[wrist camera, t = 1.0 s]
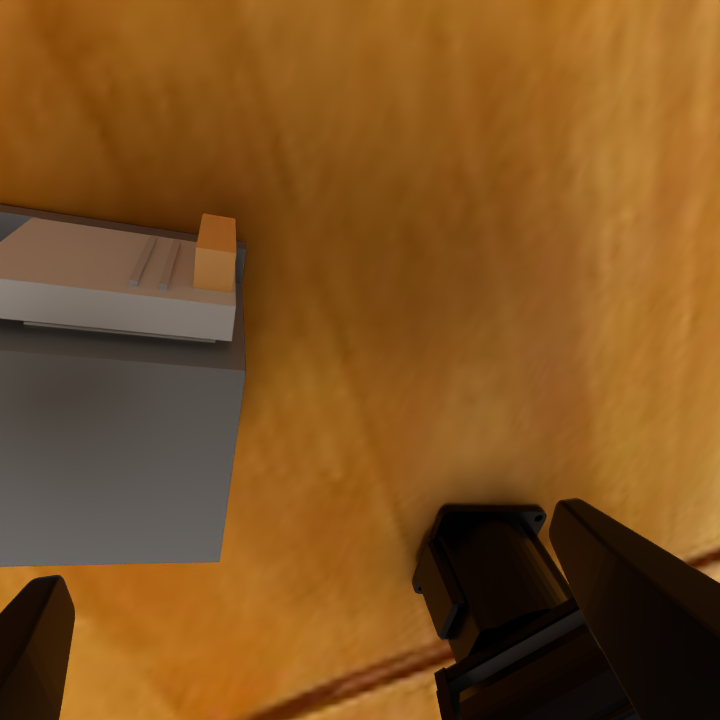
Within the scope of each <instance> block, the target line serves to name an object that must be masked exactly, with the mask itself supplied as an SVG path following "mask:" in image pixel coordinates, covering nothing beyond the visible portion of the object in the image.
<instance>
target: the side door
mask: <svg viewBox="0 0 720 720" xmlns="http://www.w3.org/2000/svg"><path fill="white" fill-rule="evenodd" d="M235 261H236V219H234V218H228V217H222V216H216V215H210V214H204V213H203V215H202V220H201V225H200V230H199V235H198V240H197V242H192V241H186V240H181V239H173V238H166V237H159V236H154V235H146V234H139V233H133V232H126V231H119V230H113V229H106V228H99V227H93V226H86V225H79V224H73V223H66V222H59V221H53V220H46V219H39V218H31V219H30V220H29V221H27V222H26V223H25V224H23V225H22V226H21V227H19V228H18V229H17V230H15V231H14V232H13V233H11V234H10V235H9V236H7V237H6V238H5V239H3V240H2V241H1V242H0V318H2V319H12V320H22V321H32V322H42V323H52V324H62V325H72V326H82V327H92V328H103V329H113V330H123V331H133V332H143V333H153V334H163V335H173V336H183V337H193V338H203V339H214V340H224V341H232V334H233V326H234V318H235V309H236V286H235Z"/></svg>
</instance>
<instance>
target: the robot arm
mask: <svg viewBox="0 0 720 720" xmlns="http://www.w3.org/2000/svg"><path fill="white" fill-rule="evenodd" d="M546 517H547V515H546V513H545V512H544V510H543V509H542V508H541V507H511V506H447V507H444V508H443V509H442V510H441V511H440V512H439V515H438V518H437V520H436V523H435V525H434V528H433V531H432V533H431V536H430V538H429V541H428V542H427V544H426V546H425V549H424V551H423V554H422V557H421V559H420V562H419V564H418V567H417V570H416V575H415V577H414V580H413V583H412V585H413V588H414V591H415V592H416V593H418V594H423V596H424V599H425V601H426V604H427V607H428V610H429V612H430V615H431V618H432V621H433V623H434V626H435V629H436V632H437V634H438V636H439V637H440V639H441V640H448V642H449V645H450V647H451V650H452V652H453V655H454V658H455V660H456V663H455V664H453V665H452V666H450V667H448V668H446V669H445V668H442V669H440V670H439V671H437V672H435V673H434V675H435V680H436V685H437V691H436V692H437V698H438V703H439V708H440V713H441V718H442V720H720V583H719V582H717V581H715V580H714V579H712V578H710V577H709V576H707V575H705V574H704V573H702V572H700V571H699V570H697V569H696V568H694V567H692V566H691V565H689V564H687V563H686V562H684V561H682V560H681V559H679V558H677V557H676V556H674V555H672V554H671V553H669V552H667V551H666V550H664V549H662V548H661V547H659V546H657V545H656V544H654V543H652V542H651V541H649V540H648V539H646V538H644V537H643V536H641V535H639V534H638V533H636V532H634V531H633V530H631V529H629V528H628V527H626V526H624V525H623V524H621V523H619V522H618V521H616V520H614V519H613V518H611V517H609V516H608V515H606V514H604V513H603V512H601V511H599V510H598V509H596V508H595V507H593V506H591V505H590V504H588V503H586V502H585V501H583V500H581V499H578V498H573V499H566V500H561V501H559V502H558V503H557V504H556V506H555V510H554V513H553V517H552V521H551V524H550V528H549V538H550V541H551V544H552V546H553V549H554V551H555V553H556V555H557V558H558V560H559V562H560V565H561V567H562V569H563V572H564V574H565V576H566V578H567V581H568V583H569V584H568V583H567V581H566V580H565V578H564V577H563V575H562V574H561V572H560V570H559V569H558V567H557V566H556V564H555V563H554V561H553V560H552V558H551V557H550V555H549V554H548V552H547V550H546V549H545V547H544V546H543V544H542V543H541V541H540V540H539V538H538V537H537V535H538V533H539V531H540V529H541V527H542V525H543V523H544V521H545V520H546ZM569 585H570V586H569ZM74 621H75V609H74V604H73V602H72V599H71V597H70V594H69V591H68V589H67V586H66V583H65V581H64V579H63V577H61V576H60V575H52V576H46V577H39V578H35V579H33V580H32V581H30V582H29V583H28V584H27V585H26V586H25V587H24V588H23V589H22V590H21V591H20V592H19V594H18V595H17V596H16V597H15V598H14V599H13V600H12V601H11V602H10V603H9V604H8V605H7V606H6V608H5V609H4V610H3V611H2V612H1V613H0V720H59V716H60V711H61V705H62V699H63V693H64V686H65V680H66V673H67V667H68V660H69V654H70V647H71V641H72V634H73V628H74Z"/></svg>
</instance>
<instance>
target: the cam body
mask: <svg viewBox="0 0 720 720" xmlns="http://www.w3.org/2000/svg"><path fill="white" fill-rule="evenodd" d="M31 218H39V219H46V220H53V221H59V222H66V223H73V224H79V225H86V226H93V227H99V228H106V229H113V230H119V231H126V232H133V233H139V234H146V235H154V236H159V237H166V238H173V239H181V240H186V241H192V242H197V240H198V235H195V234H189V233H182V232H176V231H169V230H163V229H156V228H150V227H143V226H137V225H130V224H124V223H117V222H111V221H104V220H98V219H91V218H85V217H78V216H72V215H65V214H59V213H52V212H46V211H39V210H33V209H27V208H20V207H14V206H7V205H1V204H0V242H1V241H2V240H3V239H5V238H6V237H7V236H9V235H10V234H11V233H13V232H14V231H15V230H17V229H18V228H19V227H21V226H22V225H23V224H25V223H26V222H27V221H29V220H30V219H31ZM245 255H246V242H240V241H236V261H235V286H236V309H235V318H234V326H233V334H232V341H224V340H214V339H203V338H193V337H183V336H173V335H163V334H153V333H143V332H133V331H123V330H113V329H103V328H92V327H82V326H72V325H62V324H52V323H42V322H32V321H22V320H12V319H2V318H0V567H9V566H57V565H104V564H151V563H198V562H220V555H221V548H222V541H223V533H224V526H225V519H226V512H227V504H228V497H229V490H230V483H231V476H232V468H233V461H234V454H235V447H236V439H237V432H238V425H239V418H240V411H241V403H242V396H243V389H244V382H245V374H246V360H245V339H244V317H243V296H242V280H243V272H244V264H245Z"/></svg>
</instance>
